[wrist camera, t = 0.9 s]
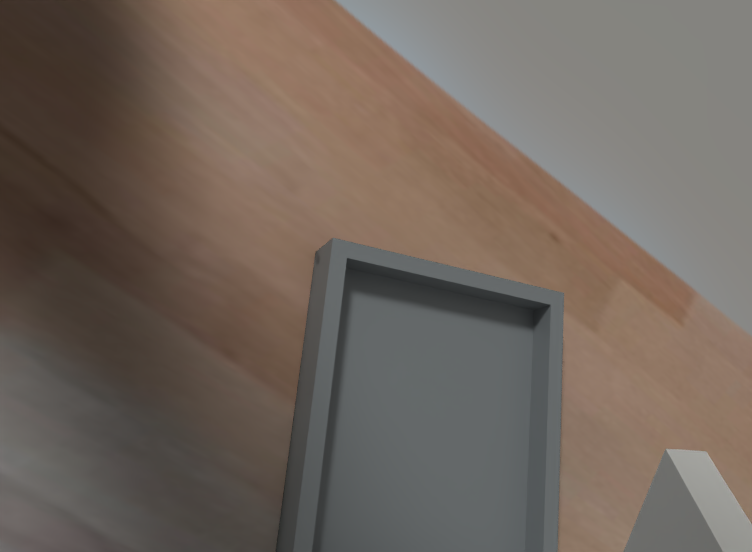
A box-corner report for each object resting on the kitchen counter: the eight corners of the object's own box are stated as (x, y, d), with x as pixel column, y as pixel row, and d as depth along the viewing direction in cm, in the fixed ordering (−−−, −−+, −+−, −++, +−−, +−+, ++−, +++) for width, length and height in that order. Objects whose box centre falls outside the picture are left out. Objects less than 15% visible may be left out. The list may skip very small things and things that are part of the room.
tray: (315, 251, 35) (332, 237, 33) (535, 302, 40) (564, 293, 38) (272, 578, 31) (288, 587, 29) (525, 593, 36) (556, 602, 33)
